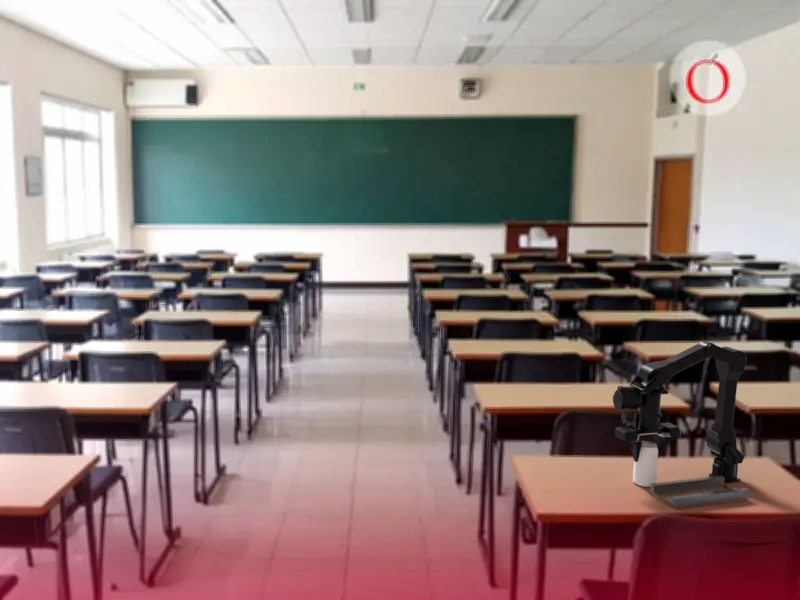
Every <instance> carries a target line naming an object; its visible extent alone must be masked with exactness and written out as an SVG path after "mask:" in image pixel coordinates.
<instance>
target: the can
mask: <svg viewBox="0 0 800 600" xmlns="http://www.w3.org/2000/svg"><path fill="white" fill-rule="evenodd" d="M640 441H641V442H642V445H641V450H640V454H639V459H638V462H635V461H634V460H633V473H632V483H633V484H634V485H636V486H639V487H643V488H651V483H657V477H658V476H657V474H658V463H659V462H658V460H659V458H658V448H657V444H656V443H655V442H653V441H647V440H640Z"/></svg>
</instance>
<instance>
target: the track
mask: <svg viewBox="0 0 800 600" xmlns="http://www.w3.org/2000/svg"><path fill="white" fill-rule="evenodd" d="M724 479H725V477H723V476H713V477H711V476H704V477H697V478H696V477H695V478H687V479H677V480H671V481H662V482H661V481H660V482H656V483H651V487H650V490H649V491H650V495H651V496H654V497H655V498H657V499H658V500H660V501H661V502H663V503H664V504H665V505H668V506H669V507H671V508H672V509H674V510H682V509H691V508H698V507H699V508H700V507H704V506H705V507H707V506H713V505H721V504H729V503H737V502H743V501H749V494H750V493H749V492H750V489H748V488H746V487H743V488H742V487H741V488H732V487H730V486H729V485H727V484H725V483H724Z"/></svg>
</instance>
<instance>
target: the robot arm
mask: <svg viewBox="0 0 800 600" xmlns="http://www.w3.org/2000/svg"><path fill="white" fill-rule="evenodd" d="M708 358H712V359H715V368H716V370H717V373H718V376H719V380H718V390H717V398H716V408H715V418H714V419H715V420H714V424H713V425H712V427H711V428H708V427H707V428H706V430H705V433H706V434H705V438H704V442H706V443H705V444H706V447H707V448H708V449H709V451H710V454H711V455H712V456H714V457H713V463H712V468H711V473H708V477H713V476H723V477H725V479H724V484H725V483H726V484H727V483H737V482H741V481H742V479H741V478H739V477H738V469H739V468H738V467H739V464H742V463H743V461H744V459H745V456H744V454H742V452H741V451H740V450H739V449H738V441H737V436H736V435H737V434H736V433H735V430H734V425H733V424H734V416H735V407H736V398H737V389H738V382H739V378H740V377H742V374H743V373H744V372H745V368H746V365H747V361H748V360H747V356H746V354H745V353H744V352H743V351H742V350H739V349H735V348H732V347H730V346H718V345H716V344H715V343H713V342H710V341H707V340H702V341H701V340H700V341H699V342H698V343H697V344H695V345H692V346H691V347H689V348H687V349H684V350H683V351H681V352H678V353H677V354H674V355H673V356H670V357H669V358H667V359H665V360H656V361H652V362H647V363H645V364H643V365H641V366H640V367H639V370H638V373H636V375H635V376H634V378H633V380H632V381H631V382H630V383H629V385H627V386H626V385H618V386H617V389H616V390H615V391H614V392H613V395H612V402H613V406H614V408H615V410H617V411H622V412H621V416H620V419H621V423H622V424H626V425H625V426H617V427H616V428H615V430H614V437H616V438H618V439H619V440H621V441H623V442H626V443H628V445H629V448H630V451H631V454H632V457H633V462H634V461H635V462H638V459H639V454H640V450H641V445H642V442H641V441H642V440H640V437H643V436H653V438H654V443H656V444H657V448H658V459H659V458H660V457H661V455H662V453H663V451H665V449H666V447H667V446H668V445H669V444H670V442H671V441H672V442H673V441H674V438H675V439H676V438H681V428H680V427H679V426H677V425H675V424H673V423H671V422H660V419H661V418H663V415H664V414H663V413H661V400H662V395H669V391H668V390H667V389H666V388H665V387H664V385H666V384H667V383H669V382H670V381H671V380H672V378H673V377H674V376H675V375H676V374H677V373H680V372H682V371H684V370H686V369H688V368H689V367H692V366H693V365H696V364H698V363H700V362H702V361H704V360H706V359H708ZM644 384H645V385H644ZM626 410H627V411H626ZM628 410H634V411H635V412H634V413H635V414H631V411H628ZM631 425H632V427H633V428H632V427H630V426H631ZM634 428H636V429H634Z"/></svg>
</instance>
